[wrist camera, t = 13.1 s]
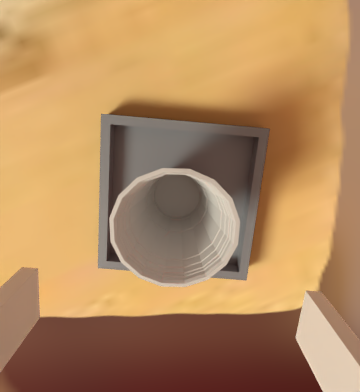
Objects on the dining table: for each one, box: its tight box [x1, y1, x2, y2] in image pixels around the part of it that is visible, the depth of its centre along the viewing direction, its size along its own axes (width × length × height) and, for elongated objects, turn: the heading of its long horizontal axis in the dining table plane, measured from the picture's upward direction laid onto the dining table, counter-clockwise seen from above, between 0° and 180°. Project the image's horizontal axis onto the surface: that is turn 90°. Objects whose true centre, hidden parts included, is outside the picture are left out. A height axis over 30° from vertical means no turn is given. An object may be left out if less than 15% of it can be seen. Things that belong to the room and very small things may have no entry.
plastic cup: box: [109, 168, 240, 287], centre depth 30 cm, size 11×11×12 cm
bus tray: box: [98, 114, 270, 280], centre depth 35 cm, size 18×18×3 cm
